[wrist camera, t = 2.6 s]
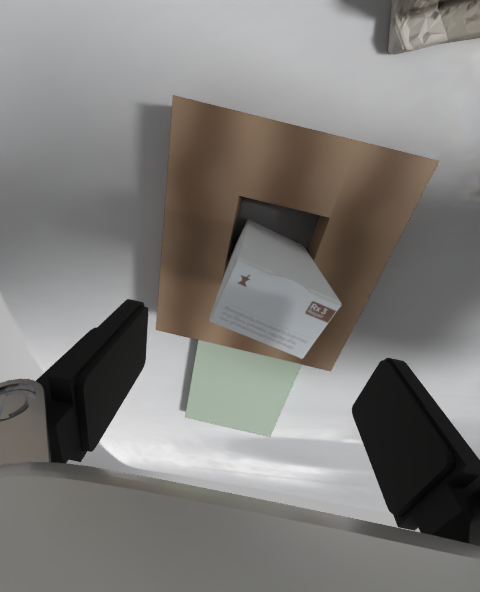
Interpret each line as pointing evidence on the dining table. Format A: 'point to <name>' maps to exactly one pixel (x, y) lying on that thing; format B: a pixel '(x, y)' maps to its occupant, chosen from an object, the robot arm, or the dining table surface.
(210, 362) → the mat
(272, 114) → the dining table surface
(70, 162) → the dining table surface
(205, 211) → the pocket block
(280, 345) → the skincare box
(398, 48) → the pink and beige block
